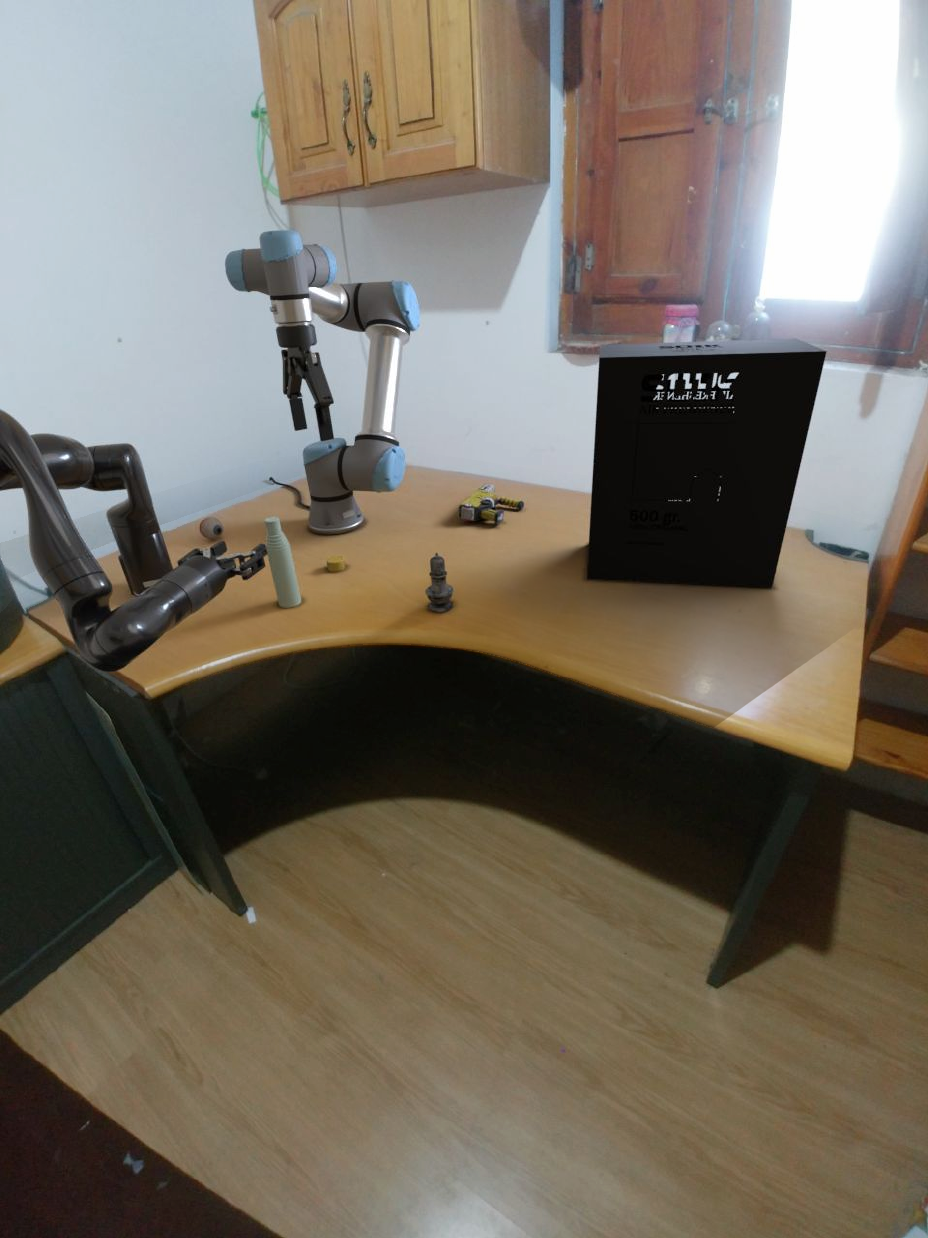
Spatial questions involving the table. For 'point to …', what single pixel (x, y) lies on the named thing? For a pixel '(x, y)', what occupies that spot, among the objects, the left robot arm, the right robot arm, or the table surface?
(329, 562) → the cap
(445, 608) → the grey chess piece
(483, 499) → the toy gun
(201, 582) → the left robot arm
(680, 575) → the cardboard box
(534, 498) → the table surface
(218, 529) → the eyeball
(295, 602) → the bottle
